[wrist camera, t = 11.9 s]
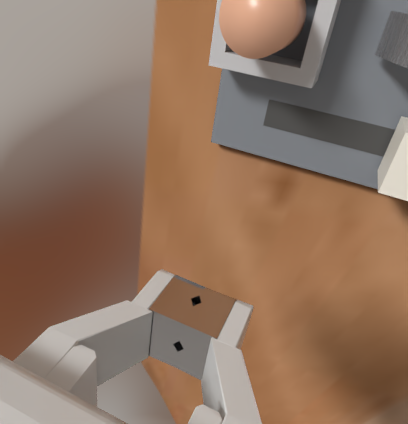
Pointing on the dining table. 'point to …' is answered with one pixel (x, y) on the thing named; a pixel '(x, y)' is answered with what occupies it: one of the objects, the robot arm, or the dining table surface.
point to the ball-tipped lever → (395, 39)
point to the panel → (316, 93)
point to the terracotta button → (261, 25)
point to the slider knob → (395, 164)
